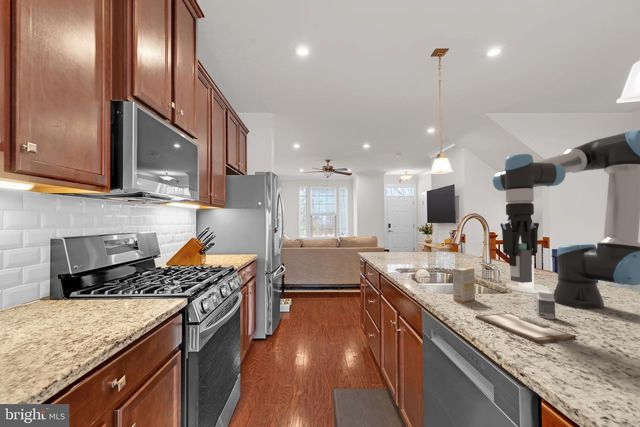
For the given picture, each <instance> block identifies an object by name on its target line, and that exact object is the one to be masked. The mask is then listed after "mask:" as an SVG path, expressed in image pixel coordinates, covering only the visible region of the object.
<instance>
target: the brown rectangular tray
mask: <svg viewBox="0 0 640 427" xmlns="http://www.w3.org/2000/svg"><path fill="white" fill-rule="evenodd" d="M475 319H477V320H479V321H482V322H484V323H487V324H490V325H491V326H493V327H494V326H495V327H497V328H499V329H502V330H504V331H506V332H508V333H511V334H514V335H515V336H518V337H521V338H524V339H526V340H528V341H531V342H534V343H535V344H545V343H551V342H552V343H553V342H561V341H569V340H576V338H577V336H576V335H575V334H572V333H568V332H566V331H562V330H559V329H556V328H553V327H551V326H550V324H547V323H543V322H542V321H541V322H540V321H537V320H536V319H531V318H529V317H525V316H522V317H520V316H518V315H515V314H512V313H509V312H502V313H501V312H500V313H489V314H477V315H475Z"/></svg>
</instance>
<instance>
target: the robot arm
mask: <svg viewBox="0 0 640 427" xmlns="http://www.w3.org/2000/svg"><path fill="white" fill-rule="evenodd" d="M504 162H505V163H504V170H502V171H499V172H497V173H495V174H494V175H493V178H492V184H493V187H494V188H495V189H496V190H497V191H500V192H504V191H505V202H506V205H505V215H506V216H508V218H507V221H506V222H500V228H501V234H502V236H501V237H502V251H503V252H502V253H503V254H505V255H506V256H508V261H509V262H508V264H509V269H510V274H509V275H510V277H511V276H514V277H520V256H517V253H518V246H519V243H525V244H526V245H527V250H531V259H533V257H534V256H536V254H537V253H538V241H539V240H538V238H539V237H538V236H539V235H538V232H539V231H538V230H539V228H540V227H539V226H540V223H539V222H534V221H533V220H532V216H533V215H534V213H535V210H534V209H535V206H534V205H535V204H534V203H533V202H534V200H535V195H534V188H536V187H549V188H550V187H556V186H558V185H560V184H562V183H563V181H565V178H566V174H567V173H572V174H575V173H581V172H584V171H594V170H603V171H604V172H605V173H607V175H608V183H607V184H608V185H607V194H606V195H607V196H606V205H605V207H606V208H605V217H604V227H603V228H604V229H603V230H604V231H603V239H600V240H599V241H598V242H597V243H596V244H597V245H596V244H593V243H592V244H591V243H589V244H569V245H560V246H558V248H557V251H556V252H557V253H556V254H557V255H556V261H557V262H556V263H557V283H556V287H555V289H554V292H553V297H552V298H554V299H555V304H560V305H563V306H568V307H572V308H579V309H581V308H582V309H591V310H592V309H598V310H599V309H603V308H604V307H605V303H604V299H603V297H602V295H601V292H600V290H599V287H598V281H601V282H608V283H612V284H613V283H614V284H617V285H623V286H624V285H627V286H639V285H640V242H639V235H640V234H639V233H640V129H636V130H629V131H626V132H622V133H619V134H615V135H610V136H608V137H607V136H606V137H603V138H597V139H595V140H591V141H589V142H586V143H584V144H581V145H579V146H575V147H574V148H570V149H567V150H565V151H564V152H563V153H561V154H558V155H555V156H552V157H548V158H545V159H543V160H539V161H538V160H537V161H534V158H533V155H532V154H529V153H519V154H513V155H509V156H507V157H506V159H505V161H504ZM520 241H521V242H520Z"/></svg>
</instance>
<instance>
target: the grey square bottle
mask: <svg viewBox="0 0 640 427" xmlns="http://www.w3.org/2000/svg"><path fill="white" fill-rule="evenodd" d="M517 256H520V277H514V276H510V281H512V282H517V283H521V284H522V283H523V284H524V283H533V276H532V275H533V268H532V267H533V266H532V265H533V260H532V259H533V258H532V259H531V250H527V245H526V244H525V243H522V242H519V246H518V253H517Z"/></svg>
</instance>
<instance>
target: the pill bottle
mask: <svg viewBox="0 0 640 427" xmlns="http://www.w3.org/2000/svg"><path fill="white" fill-rule="evenodd" d="M537 292H538V296H537V299H536V300H537V316H538V317H539V318H542V319H549V320H554V319H556V302H555V299H554V298H553V294H554V292H552V291H549V290H548V291H547V290H538V291H537Z"/></svg>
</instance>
